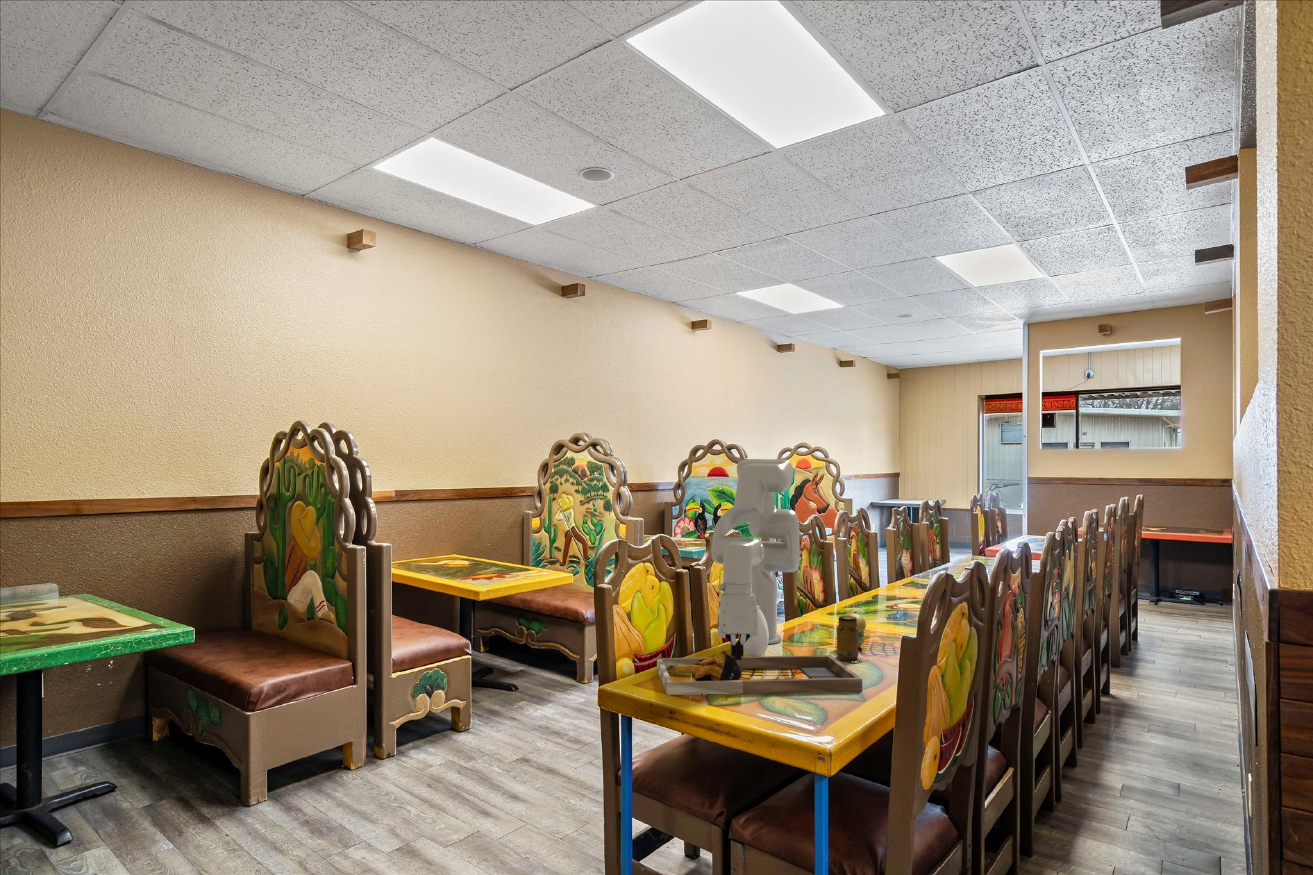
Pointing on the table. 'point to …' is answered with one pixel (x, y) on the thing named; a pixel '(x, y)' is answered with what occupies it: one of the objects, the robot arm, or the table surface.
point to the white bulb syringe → (758, 638)
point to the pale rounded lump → (859, 626)
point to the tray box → (815, 667)
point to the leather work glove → (711, 668)
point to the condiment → (848, 640)
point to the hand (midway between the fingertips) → (737, 658)
